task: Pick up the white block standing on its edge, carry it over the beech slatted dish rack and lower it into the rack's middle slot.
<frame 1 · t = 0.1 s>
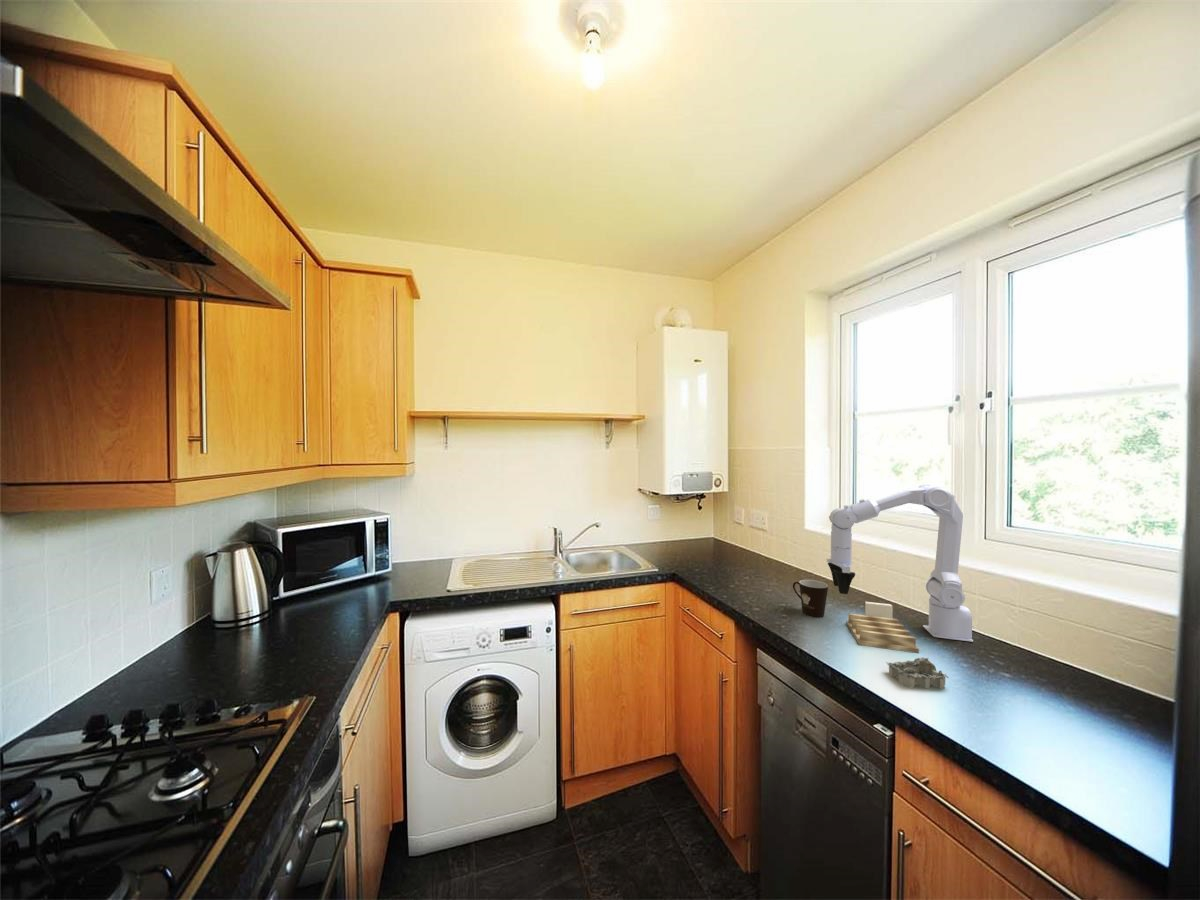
hand: (840, 589, 133), 10 cm above the countertop, fingers open, 7 cm apart
white block: (878, 622, 133), on the countertop
dish rack: (879, 637, 122), on the countertop
ruined castle model: (917, 682, 99), on the countertop
coffee mug: (810, 612, 141), on the countertop
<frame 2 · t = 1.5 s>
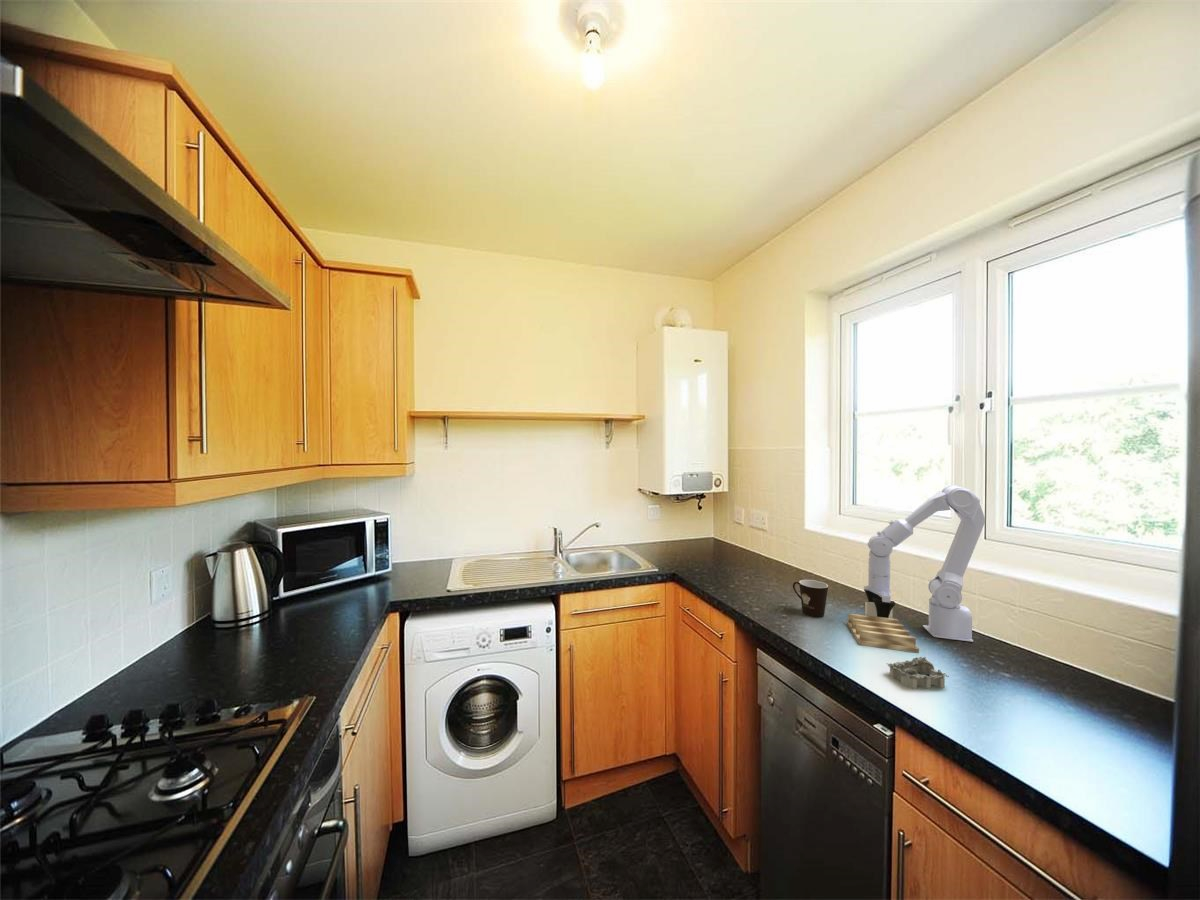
hand: (878, 617, 133), 2 cm above the countertop, fingers open, 7 cm apart
nothing on the countertop moved.
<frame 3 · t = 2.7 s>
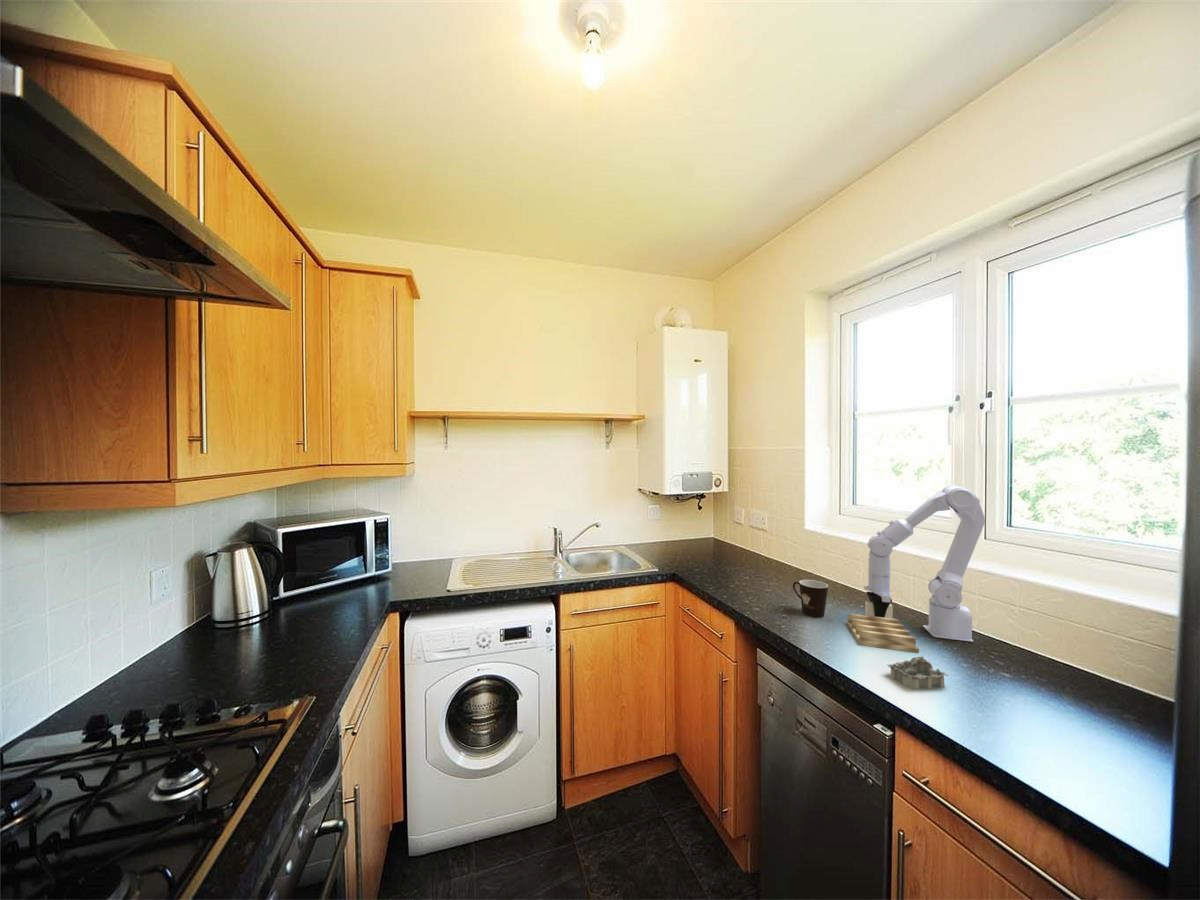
hand: (878, 617, 133), 2 cm above the countertop, fingers closed on white block, 2 cm apart
white block: (878, 622, 133), on the countertop, touching gripper
everything else where it was.
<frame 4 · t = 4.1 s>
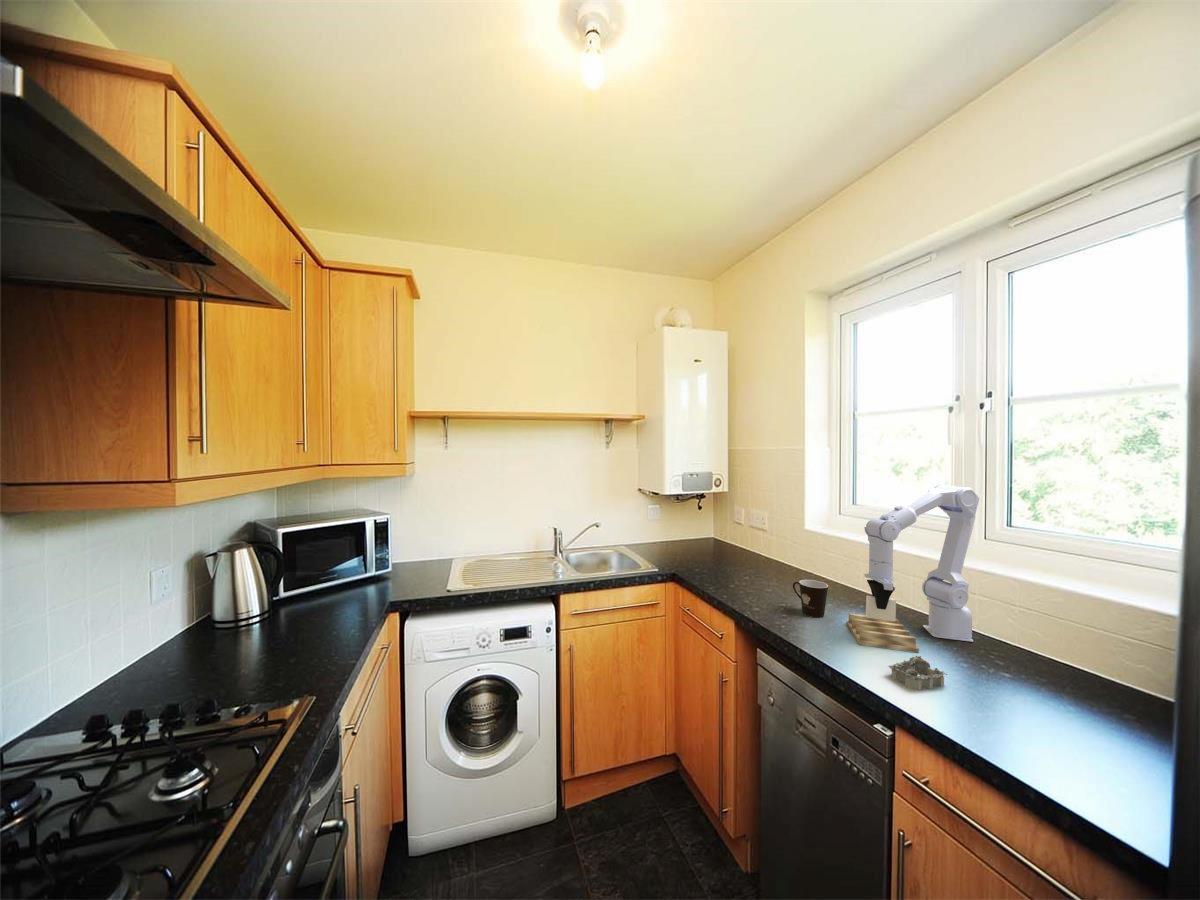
hand: (880, 607, 122), 9 cm above the countertop, fingers closed on white block
white block: (880, 618, 122), point 5 cm above the countertop, touching gripper
everything else where it was.
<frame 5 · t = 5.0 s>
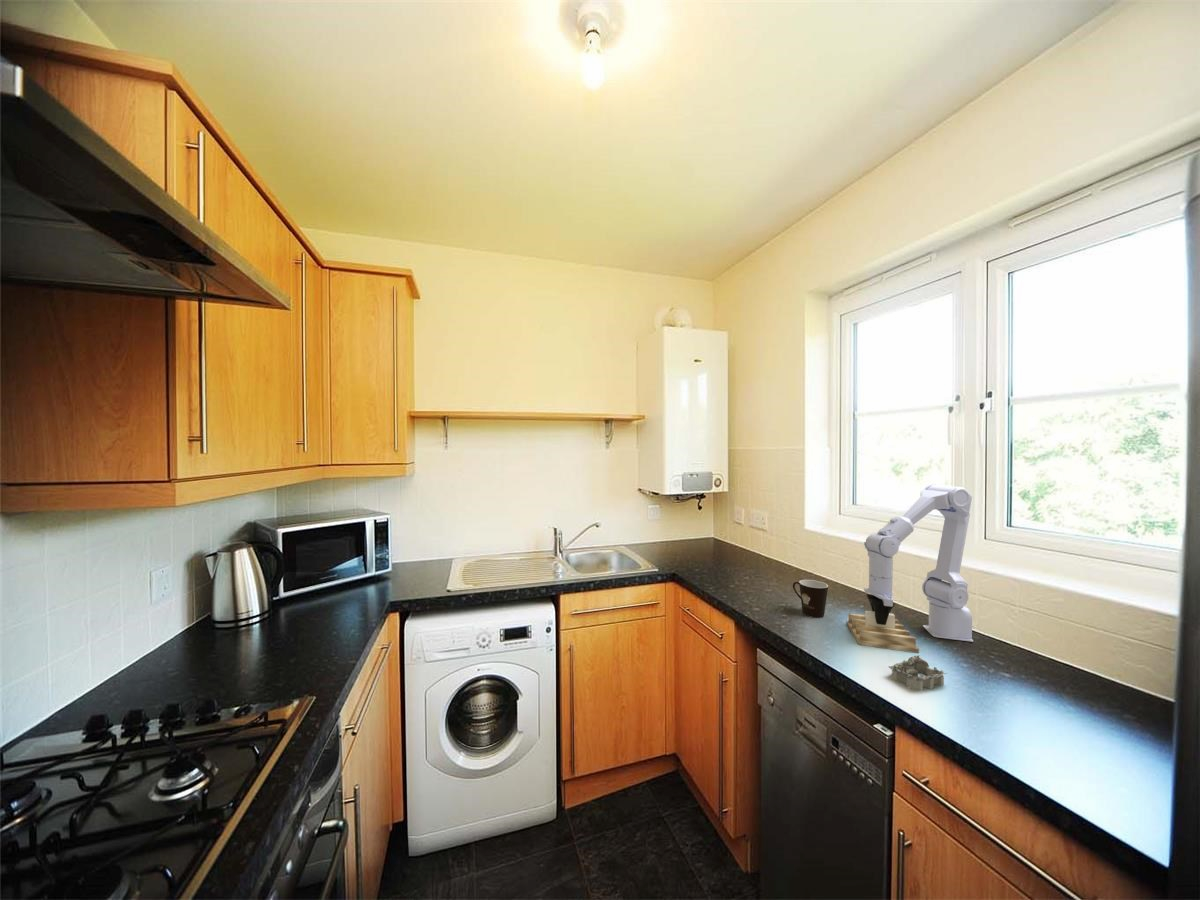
hand: (879, 622, 122), 4 cm above the countertop, fingers closed on white block, 2 cm apart
white block: (879, 633, 122), point 1 cm above the countertop, touching dish rack, gripper
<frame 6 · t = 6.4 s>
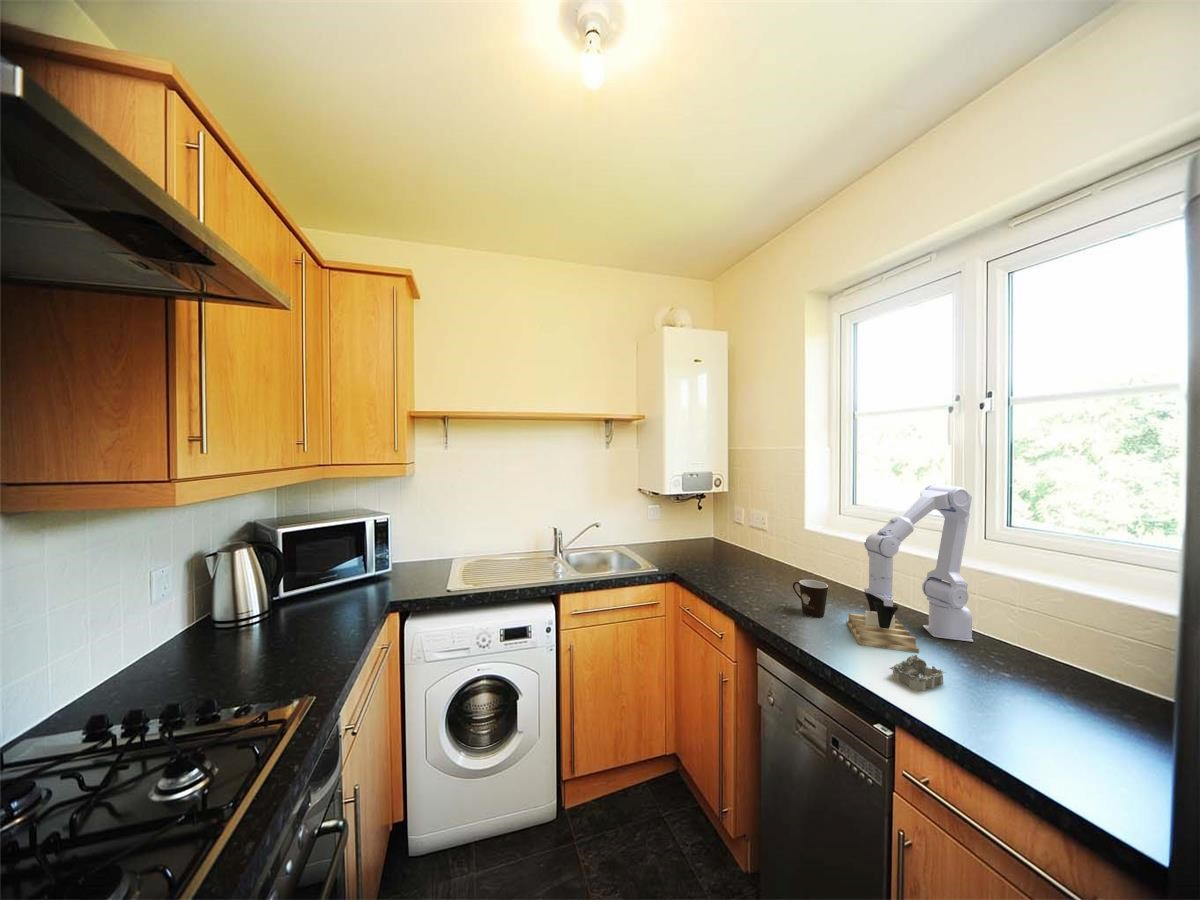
hand: (879, 622, 122), 4 cm above the countertop, fingers open, 7 cm apart
white block: (879, 633, 122), point 1 cm above the countertop, touching dish rack
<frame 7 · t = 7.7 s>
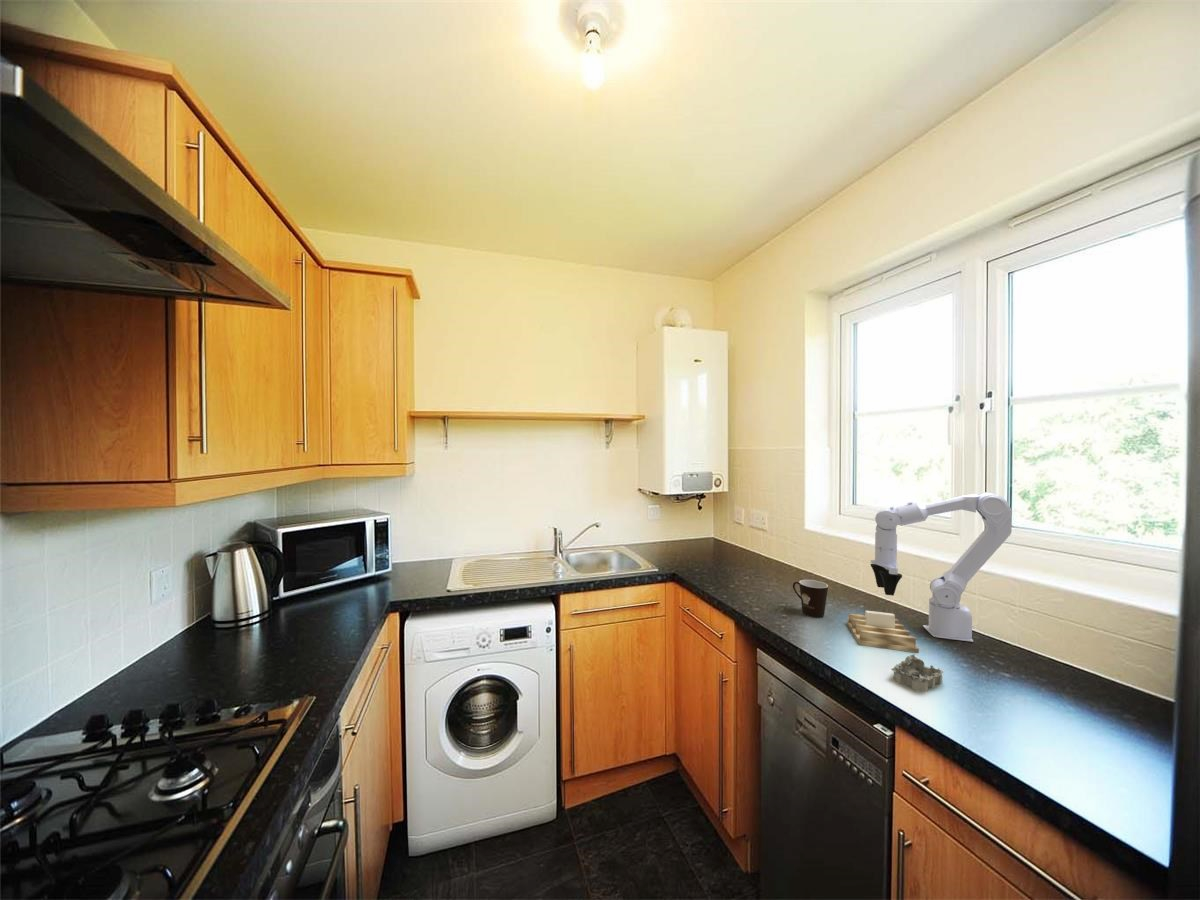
hand: (885, 590, 133), 10 cm above the countertop, fingers open, 7 cm apart
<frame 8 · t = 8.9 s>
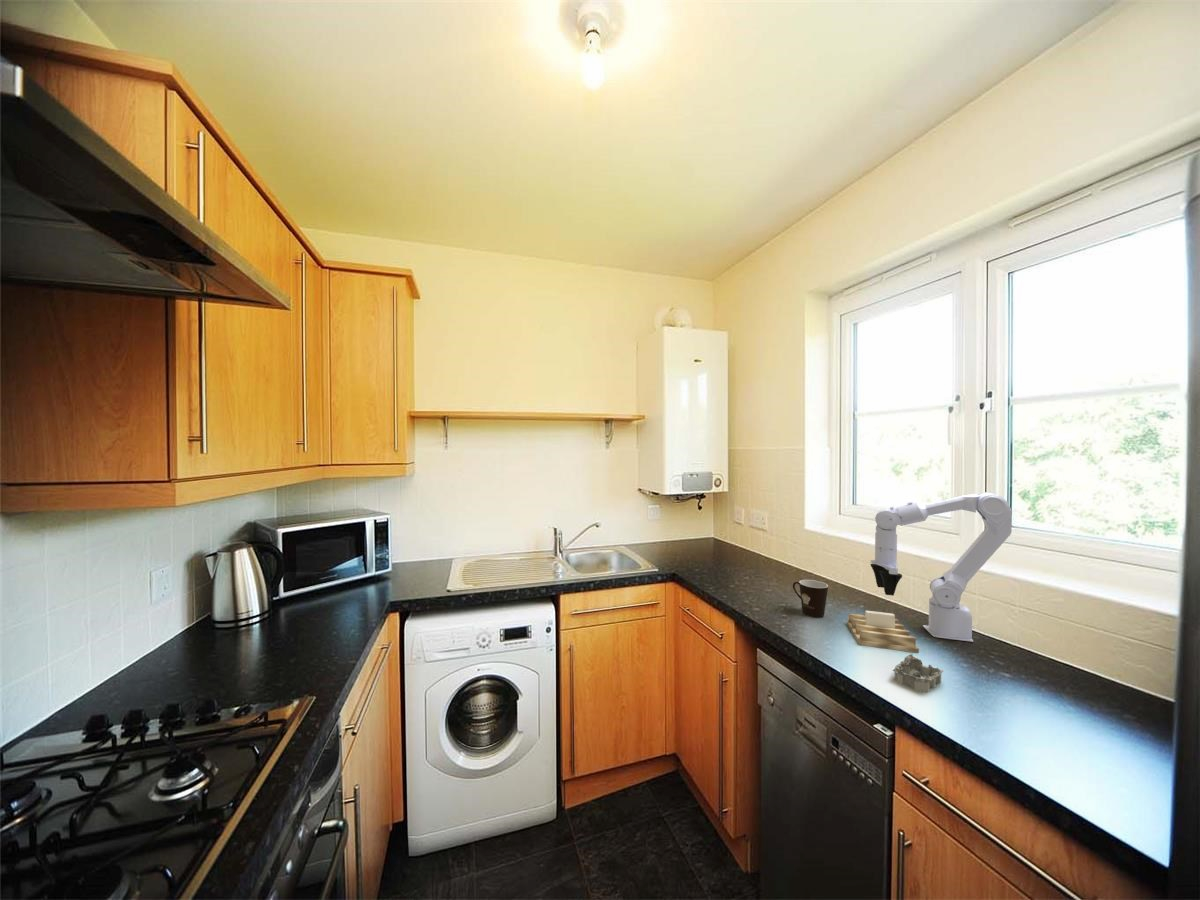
hand: (885, 590, 133), 10 cm above the countertop, fingers open, 7 cm apart
at the end: white block inside the target area on the dish rack (0.0 cm from its centre), point 1.0 cm above the dish rack's base; white block tilted 0°; the gripper is holding nothing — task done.
